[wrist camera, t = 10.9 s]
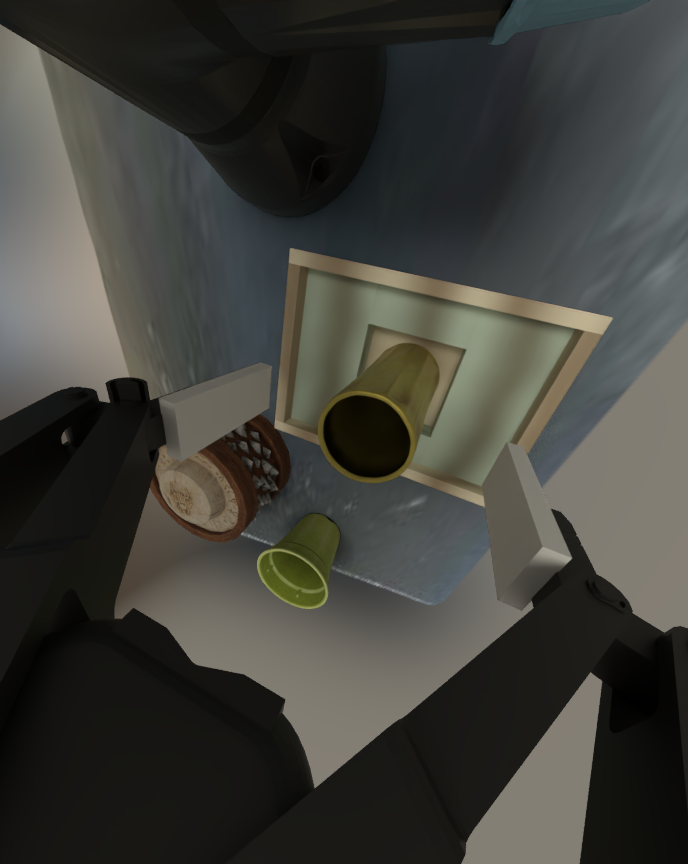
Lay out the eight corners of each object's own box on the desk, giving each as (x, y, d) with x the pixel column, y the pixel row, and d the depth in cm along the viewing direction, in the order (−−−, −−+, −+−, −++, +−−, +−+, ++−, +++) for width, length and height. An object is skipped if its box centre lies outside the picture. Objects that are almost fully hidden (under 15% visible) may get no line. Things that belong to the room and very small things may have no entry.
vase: (404, 327, 25) (355, 352, 12) (455, 374, 25) (455, 445, 13) (361, 377, 28) (289, 436, 16) (406, 419, 28) (369, 509, 16)
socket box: (297, 411, 33) (274, 428, 29) (317, 256, 26) (290, 247, 21) (486, 478, 29) (492, 509, 24) (581, 314, 21) (613, 317, 17)
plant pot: (283, 502, 41) (245, 547, 33) (341, 501, 37) (312, 552, 29) (303, 552, 44) (273, 603, 36) (359, 556, 40) (337, 614, 32)
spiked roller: (234, 460, 25) (243, 571, 31) (294, 416, 34) (291, 509, 41) (113, 420, 28) (145, 527, 35) (197, 391, 38) (209, 480, 44)
